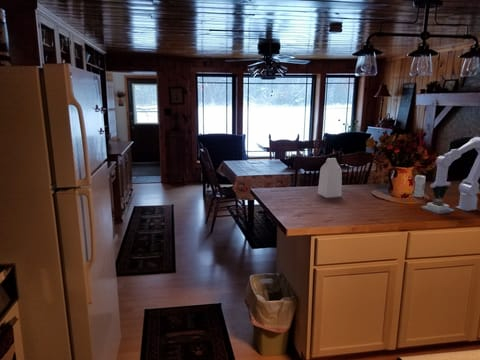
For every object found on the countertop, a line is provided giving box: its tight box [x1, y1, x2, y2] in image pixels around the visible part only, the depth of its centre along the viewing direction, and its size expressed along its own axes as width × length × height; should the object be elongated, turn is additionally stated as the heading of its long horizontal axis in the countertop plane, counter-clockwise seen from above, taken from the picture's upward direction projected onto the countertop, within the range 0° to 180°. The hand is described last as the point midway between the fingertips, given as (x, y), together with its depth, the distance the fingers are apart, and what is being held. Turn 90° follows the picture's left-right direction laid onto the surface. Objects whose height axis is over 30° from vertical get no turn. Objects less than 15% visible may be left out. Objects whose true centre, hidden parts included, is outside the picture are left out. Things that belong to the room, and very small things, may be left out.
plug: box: [432, 198, 445, 206], centre depth 223 cm, size 4×4×5 cm
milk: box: [317, 157, 343, 199], centre depth 254 cm, size 12×12×26 cm
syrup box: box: [412, 174, 426, 199], centre depth 252 cm, size 6×6×14 cm
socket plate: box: [420, 201, 456, 215], centre depth 223 cm, size 13×13×4 cm
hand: (438, 198), depth 222 cm, fingers open, 3 cm apart
